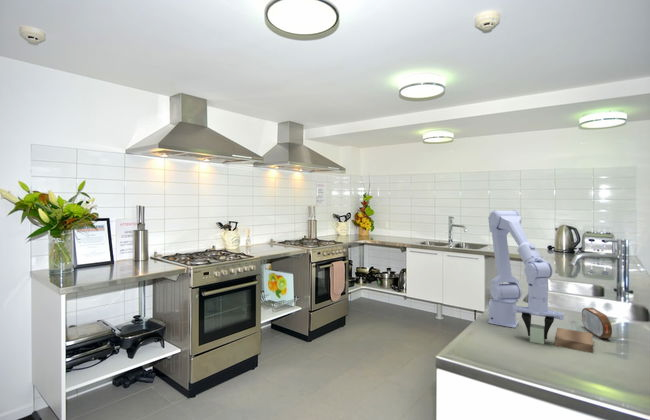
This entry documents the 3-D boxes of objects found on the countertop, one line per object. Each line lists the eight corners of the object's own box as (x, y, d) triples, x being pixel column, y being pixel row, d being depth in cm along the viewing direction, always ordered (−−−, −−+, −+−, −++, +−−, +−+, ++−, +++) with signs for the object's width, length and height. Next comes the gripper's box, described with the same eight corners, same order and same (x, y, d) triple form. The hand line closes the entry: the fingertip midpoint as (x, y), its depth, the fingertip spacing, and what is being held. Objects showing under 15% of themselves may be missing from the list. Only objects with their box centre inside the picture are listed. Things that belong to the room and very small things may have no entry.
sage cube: (530, 341, 120) (530, 326, 120) (531, 337, 123) (531, 323, 123) (543, 344, 118) (543, 329, 118) (545, 340, 121) (545, 325, 121)
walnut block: (554, 346, 117) (554, 337, 117) (557, 335, 126) (557, 327, 126) (592, 354, 111) (592, 344, 111) (592, 342, 120) (592, 333, 120)
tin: (613, 342, 119) (613, 317, 119) (602, 341, 120) (602, 316, 120) (589, 327, 134) (589, 305, 134) (579, 326, 135) (580, 304, 135)
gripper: (512, 296, 121) (511, 335, 121) (562, 303, 113) (562, 345, 113) (515, 292, 127) (515, 329, 127) (564, 298, 118) (563, 338, 119)
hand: (537, 336), depth 120 cm, fingers closed on sage cube, 4 cm apart
